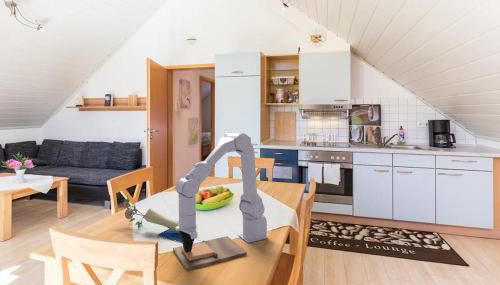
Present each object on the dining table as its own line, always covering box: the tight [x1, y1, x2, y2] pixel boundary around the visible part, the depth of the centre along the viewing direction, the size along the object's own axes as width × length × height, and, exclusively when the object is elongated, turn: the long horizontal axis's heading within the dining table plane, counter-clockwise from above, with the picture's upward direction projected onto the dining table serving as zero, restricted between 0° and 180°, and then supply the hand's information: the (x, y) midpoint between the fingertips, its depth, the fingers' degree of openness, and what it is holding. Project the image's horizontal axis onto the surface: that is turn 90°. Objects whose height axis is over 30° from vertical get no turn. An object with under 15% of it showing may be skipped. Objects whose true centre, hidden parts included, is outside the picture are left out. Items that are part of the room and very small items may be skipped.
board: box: [172, 235, 248, 272], centre depth 104 cm, size 22×16×2 cm
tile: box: [181, 242, 214, 261], centre depth 101 cm, size 9×9×1 cm
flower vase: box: [122, 196, 181, 234], centre depth 125 cm, size 12×12×35 cm
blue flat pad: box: [158, 228, 182, 243], centre depth 118 cm, size 7×1×15 cm
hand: (187, 251), depth 100 cm, fingers closed, pressing on tile
